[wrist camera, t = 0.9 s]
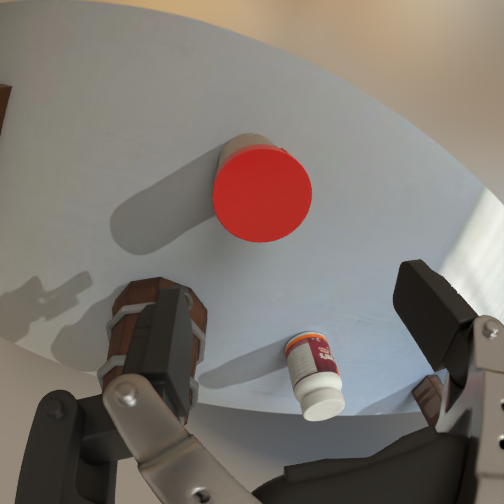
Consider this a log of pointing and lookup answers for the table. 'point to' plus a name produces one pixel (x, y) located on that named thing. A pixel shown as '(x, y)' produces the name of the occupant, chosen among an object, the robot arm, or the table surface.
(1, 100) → the tray
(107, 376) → the mug
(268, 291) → the table surface
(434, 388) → the box
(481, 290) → the table surface
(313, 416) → the pill bottle
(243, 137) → the jar
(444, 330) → the robot arm
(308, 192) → the lid
